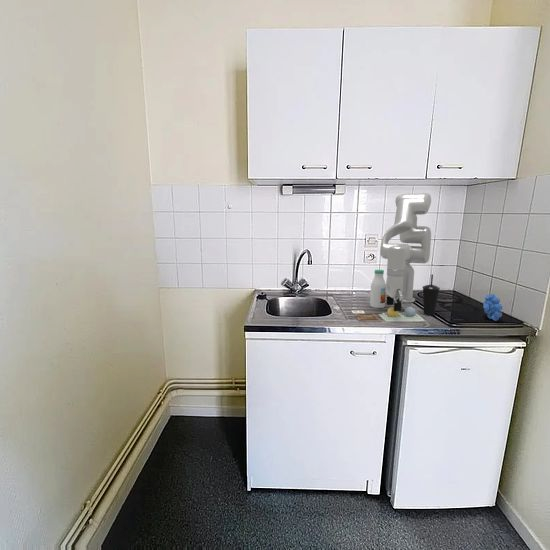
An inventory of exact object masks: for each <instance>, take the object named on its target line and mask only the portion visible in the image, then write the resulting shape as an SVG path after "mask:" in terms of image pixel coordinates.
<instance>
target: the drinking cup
mask: <svg viewBox="0 0 550 550" xmlns="http://www.w3.org/2000/svg"><path fill="white" fill-rule="evenodd" d="M430 277H431V278H430V284H427V285H423V286H422V295H423V296H422V301H423V303H422V304H423V305H422V306H423V307H422V308H423V309H422V310H423V314H424V315H425V316H429V317H430V316H431V317H432V316H435V314H436V309H437V302H438V299H439V293H440V290H441V288H440V286H437V285H435V284H433V279H434V273H433V274H431V275H430Z"/></svg>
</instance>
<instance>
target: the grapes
mask: <svg viewBox="0 0 550 550" xmlns="http://www.w3.org/2000/svg"><path fill="white" fill-rule="evenodd" d="M482 307H483V309H484V313H486V314H487V315H486V316H487V318H488V319H489V320H491V319H492V320H493V321H494V322H497V321H499V318H501V317H502V316H503V313H502V312H501V311H502V310H503V306H502V304H501V300H500V298H499V297H497V295H495V294H494V293H490V294H489V295H488V294H487V295H485V297H484V301H483V303H482Z"/></svg>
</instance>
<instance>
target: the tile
mask: <svg viewBox="0 0 550 550" xmlns="http://www.w3.org/2000/svg"><path fill="white" fill-rule="evenodd" d="M351 312H352V314H353V315H354V314H366V312H365V311H364V310H351Z"/></svg>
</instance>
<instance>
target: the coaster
mask: <svg viewBox="0 0 550 550" xmlns="http://www.w3.org/2000/svg"><path fill="white" fill-rule="evenodd" d="M353 315H354V316H355V318H356V319H357V320H358V322H359V321H378V323H381V322H382V320H381V319H380V317H378V316H377V314H375V313H365V314H353ZM379 321H380V322H379Z"/></svg>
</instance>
